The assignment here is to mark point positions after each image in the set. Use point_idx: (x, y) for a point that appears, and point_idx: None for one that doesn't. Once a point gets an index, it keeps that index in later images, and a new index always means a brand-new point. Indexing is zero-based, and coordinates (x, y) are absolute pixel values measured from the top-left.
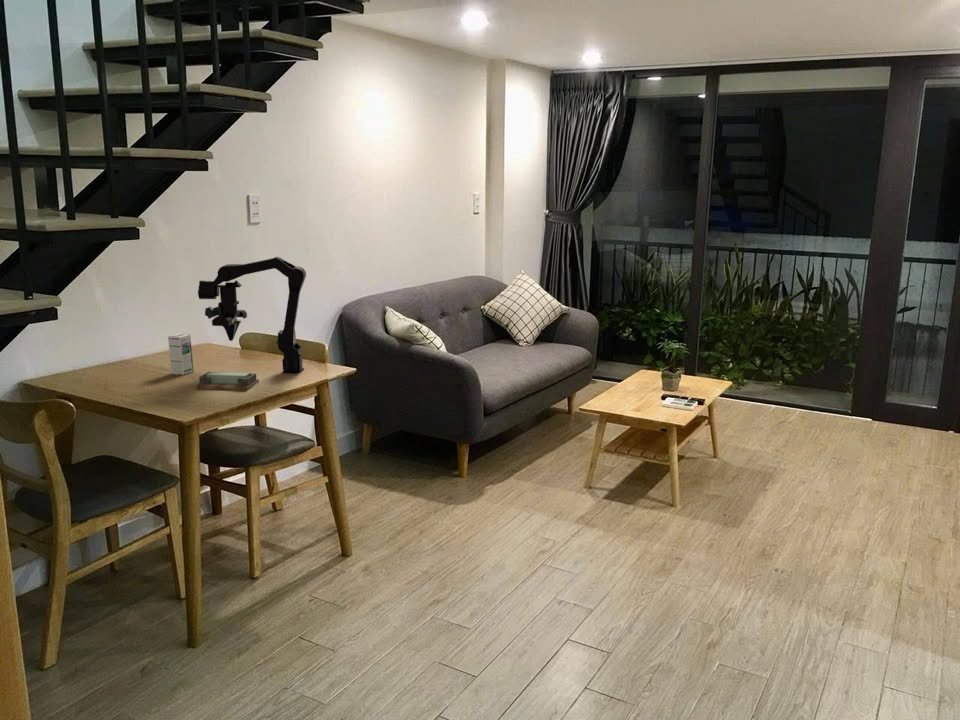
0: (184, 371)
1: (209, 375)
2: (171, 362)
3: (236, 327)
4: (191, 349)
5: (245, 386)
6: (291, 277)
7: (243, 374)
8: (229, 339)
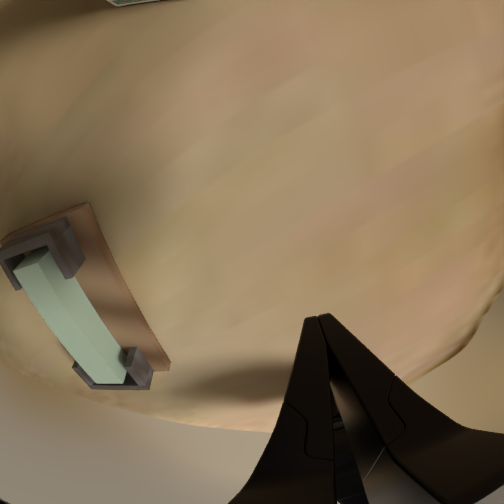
0: (117, 2)
1: (21, 280)
2: None
3: (362, 480)
4: None
5: None
6: None
7: (101, 375)
8: (303, 330)
